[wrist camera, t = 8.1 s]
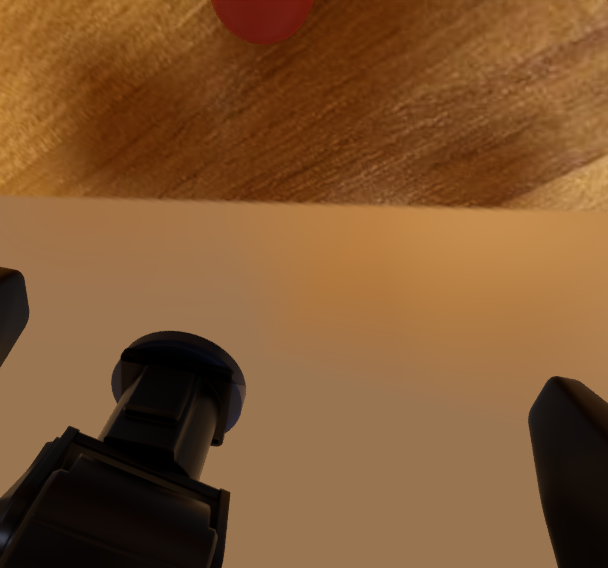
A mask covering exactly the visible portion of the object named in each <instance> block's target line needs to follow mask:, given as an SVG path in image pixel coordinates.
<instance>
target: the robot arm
mask: <svg viewBox="0 0 608 568" xmlns="http://www.w3.org/2000/svg"><path fill="white" fill-rule="evenodd" d="M28 318H29V305H28V299H27V293H26V286H25V280H24V277H23V275H22V273H21V272H19V271H18V270H14V269H9V268H3V267H0V367H1V365H2V364H3V362H4V360H5V359H6V357H7V356H8V354H9V352H10V351H11V349H12V347H13V346H14V344H15V343H16V341H17V339H18V338H19V336H20V334H21V333H22V331H23V329H24V328H25V326H26V324H27V322H28ZM128 355H129V356H131V357H132V358H131V357H129V356H128ZM120 361H121V399H120V400H119V402H118V404H117V406H116V407H115V409H114V411H113V413H112V414H111V416H110V418H109V420H108V421H107V423H106V425H105V426H104V428H103V430H102V432H101V434H100V435H99V437H98V439H95V438H93V437H90V436H88V435H86V434H83V433H81V432H79V431H80V430H78V429H76V428H74V427H71V426H69V427H68V428H67V429H66V431H65V432H64V433H63V435H62V436H61V438H59V437H56V439H55V440H54V441H53V442H47V443H46V444H45V446H44V447H43V448H42V450H41V451H40V453H39V454H38V456H37V457H36V459H35V460H34V462H33V463H32V464H31V466H30V467H29V469H28V470H27V471H26V472H25V473H24V474H23V475H22V476H21V477H20V478H19V479H18V480H17V482H16V483H15V484H14V485H13V486H12V487H11V488H10V489H9V490H8V491H7V492H6V493H5V494H4V495H3V496H2V497H1V498H0V568H221V567H222V563H223V557H224V549H225V540H226V530H227V520H228V511H229V501H230V492H228V491H226V490H224V489H220V490H219V489H216V488H214V487H211V486H209V485H207V484H204V483H202V482H199V478H200V475H201V472H202V469H203V466H204V463H205V460H206V457H207V453H208V450H209V447H210V446H220V445H222V443H223V440H224V435H225V429H226V422H227V415H228V408H229V402H230V395H231V388H232V381H233V372H232V370H231V369H229V368H227V367H223V366H218V365H213V364H209V363H204V362H199V361H194V360H189V359H184V358H179V357H174V356H170V355H165V354H160V353H155V352H150V351H145V350H140V349H135V348H126V349H125V350H124V351H123V352H122V354H121V357H120ZM222 375H226V376H227V377H224V376H222ZM528 423H529V430H530V437H531V443H532V449H533V456H534V462H535V468H536V474H537V481H538V487H539V493H540V498H541V503H542V508H543V513H544V517H545V521H546V525H547V528H548V532H549V536H550V539H551V543H552V546H553V550H554V554H555V558H556V562H557V565H558V568H608V403H607V402H606V401H604V400H603V399H602V398H601V397H599V396H598V395H597V394H595V393H594V392H593V391H592V390H590V389H589V388H588V387H586V386H585V385H584V384H583V383H581V382H580V381H578V380H574V379H569V378H564V377H559V376H555V377H551V378H550V379H549V380H548V381H547V383H546V384H545V386H544V387H543V389H542V391H541V392H540V394H539V396H538V397H537V399H536V401H535V402H534V404H533V406H532V408H531V410H530V412H529V418H528ZM215 438H216V439H215Z"/></svg>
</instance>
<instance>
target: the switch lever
mask: <svg viewBox="0 0 608 568" xmlns="http://www.w3.org/2000/svg"><path fill="white" fill-rule="evenodd" d="M211 2H212V5H213V7H214V10H215V12H216V14H217V15H218V17H219V19H220V20H221V22H222V23H223V24H224V25H225V27H226V28H227V29H228V30H229V31H231V32H232V33H233V34H234V35H236V36H237V37H239V38H241V39H242V40H245V41H247V42H250V43H253V44H260V45H267V44H274V43H278V42H281V41H283V40H285V39H287V38H289V37H290V36H291V35H293V34H294V33H295V32H296V31H297V30H298V29H299V28H300V27H301V26H302V24H303V23H304V22H305V20H306V19H307V17H308V15H309V13H310V10H311V7H312V4H313V0H211Z"/></svg>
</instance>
